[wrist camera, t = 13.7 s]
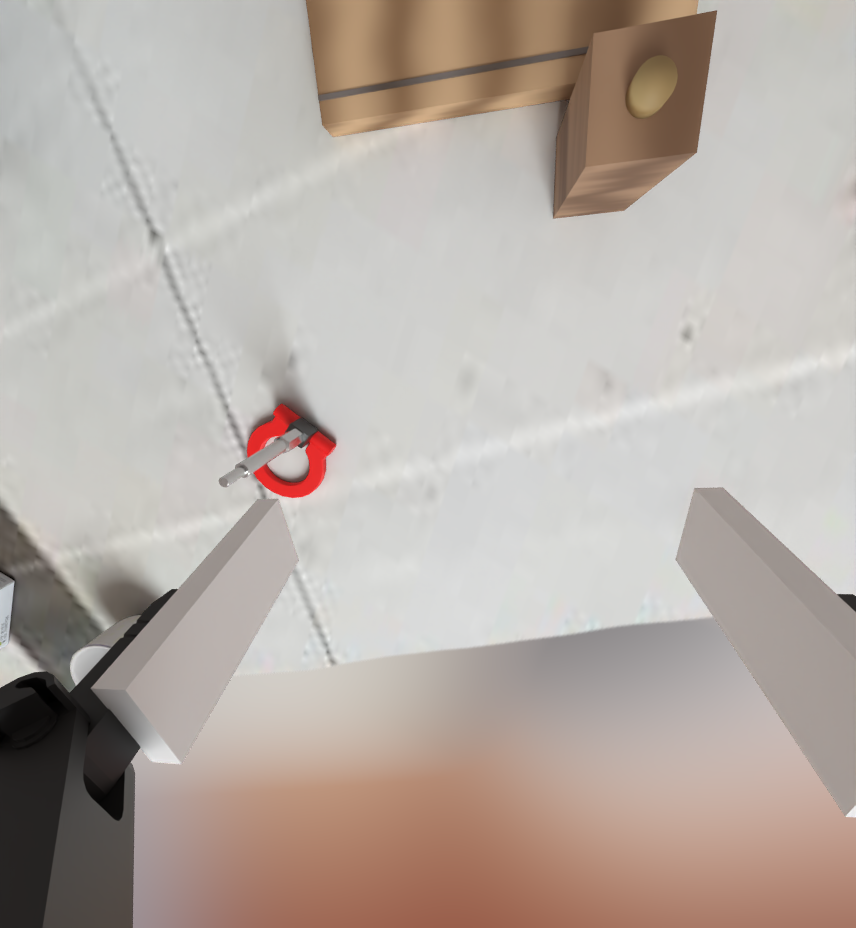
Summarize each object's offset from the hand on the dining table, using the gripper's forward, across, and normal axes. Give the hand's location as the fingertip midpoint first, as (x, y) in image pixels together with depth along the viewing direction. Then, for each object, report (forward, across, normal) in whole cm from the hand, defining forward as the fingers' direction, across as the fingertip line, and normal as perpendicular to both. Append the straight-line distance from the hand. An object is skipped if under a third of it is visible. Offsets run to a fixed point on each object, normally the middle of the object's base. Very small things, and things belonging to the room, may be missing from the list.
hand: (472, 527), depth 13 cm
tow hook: (+24, -19, -9) cm, 32 cm away
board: (+27, +2, +21) cm, 34 cm away
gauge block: (+25, +9, +12) cm, 30 cm away
